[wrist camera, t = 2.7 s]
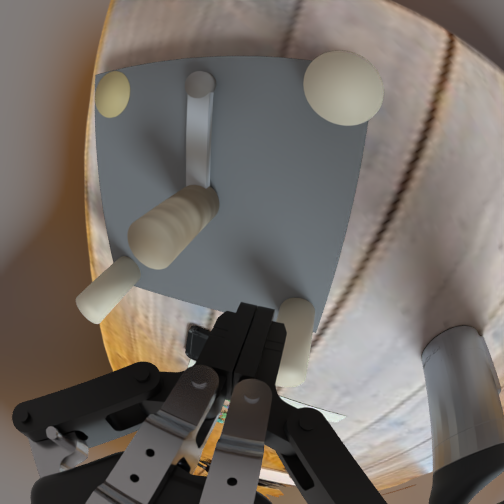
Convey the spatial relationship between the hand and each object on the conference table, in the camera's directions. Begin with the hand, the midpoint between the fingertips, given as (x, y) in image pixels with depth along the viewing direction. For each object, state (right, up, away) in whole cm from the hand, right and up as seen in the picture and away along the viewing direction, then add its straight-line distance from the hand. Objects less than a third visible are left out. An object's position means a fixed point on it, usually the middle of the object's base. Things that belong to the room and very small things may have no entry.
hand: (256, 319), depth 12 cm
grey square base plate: (-4, +9, +14) cm, 17 cm away
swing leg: (-4, +11, +9) cm, 15 cm away
